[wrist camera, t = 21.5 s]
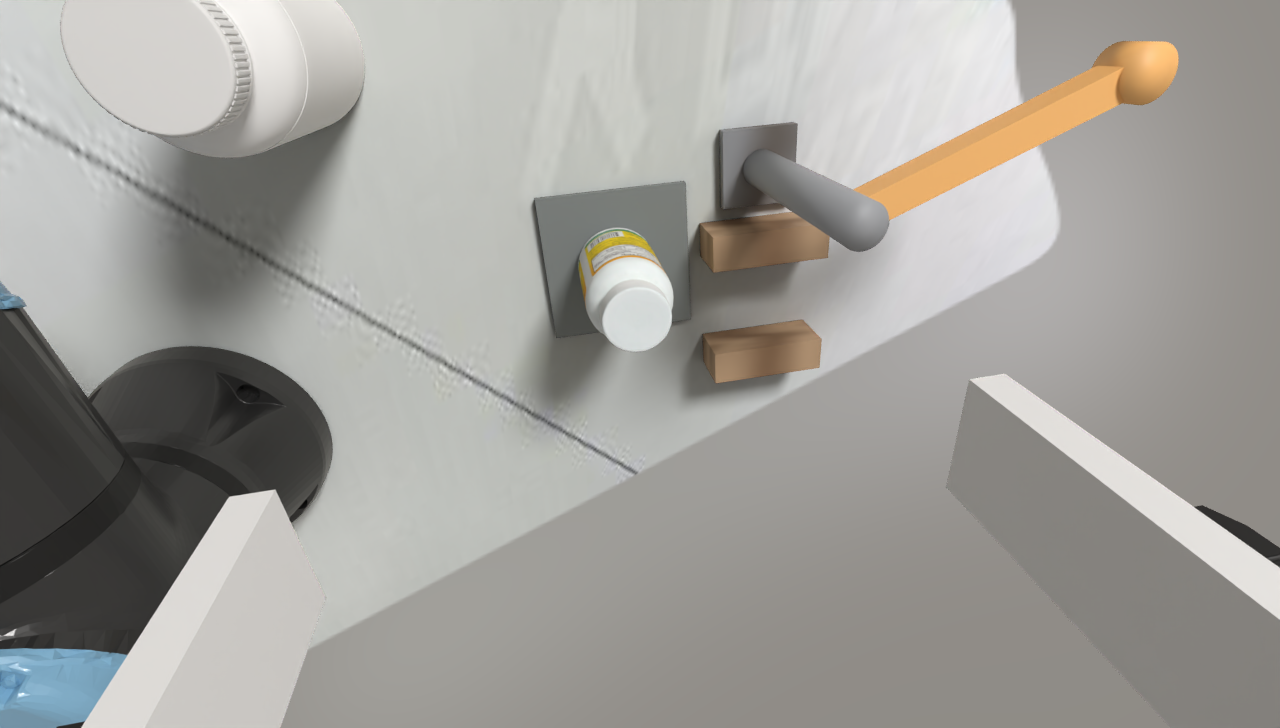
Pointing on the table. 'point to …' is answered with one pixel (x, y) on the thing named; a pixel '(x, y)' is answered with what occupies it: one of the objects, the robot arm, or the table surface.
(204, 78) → the pill bottle
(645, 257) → the supplement bottle
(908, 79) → the table surface
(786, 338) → the wooden block set
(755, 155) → the grey orange l-shaped piece
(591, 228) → the mat
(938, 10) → the table surface
